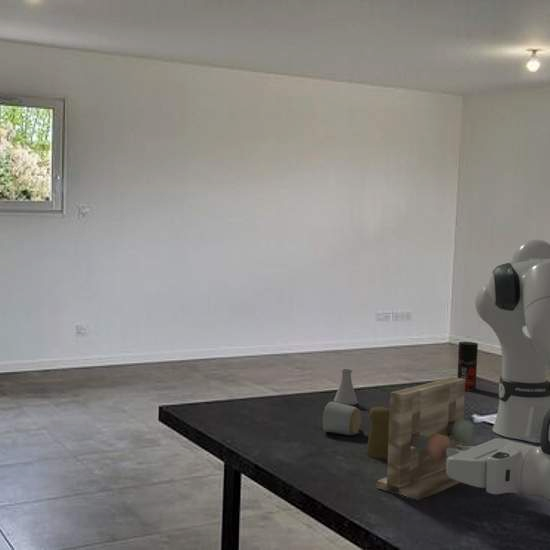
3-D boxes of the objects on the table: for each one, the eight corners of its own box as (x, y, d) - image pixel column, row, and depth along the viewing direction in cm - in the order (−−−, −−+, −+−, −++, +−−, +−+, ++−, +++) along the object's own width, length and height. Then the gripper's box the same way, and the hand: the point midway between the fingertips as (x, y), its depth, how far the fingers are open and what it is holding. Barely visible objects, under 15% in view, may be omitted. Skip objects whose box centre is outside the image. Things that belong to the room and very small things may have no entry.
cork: (364, 450, 188) (366, 404, 187) (390, 451, 188) (392, 405, 187) (366, 458, 182) (368, 410, 181) (393, 458, 182) (395, 411, 181)
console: (479, 474, 172) (484, 382, 171) (418, 500, 155) (422, 399, 153) (439, 463, 179) (443, 375, 178) (376, 487, 162) (379, 390, 160)
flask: (334, 399, 240) (335, 366, 239) (358, 401, 239) (359, 368, 238) (332, 405, 232) (333, 371, 232) (357, 406, 231) (358, 372, 231)
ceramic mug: (351, 439, 197) (353, 408, 196) (321, 434, 200) (322, 404, 200) (366, 430, 206) (367, 400, 206) (337, 425, 210) (338, 396, 210)
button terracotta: (449, 456, 158) (450, 434, 158) (437, 461, 155) (438, 438, 154) (418, 448, 163) (419, 426, 163) (406, 453, 160) (407, 430, 159)
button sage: (472, 440, 170) (473, 419, 170) (461, 444, 167) (462, 423, 166) (443, 433, 175) (444, 413, 175) (432, 437, 172) (433, 416, 171)
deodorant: (475, 387, 262) (477, 342, 261) (475, 391, 256) (477, 345, 255) (457, 386, 263) (459, 341, 262) (456, 390, 257) (458, 344, 256)
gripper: (542, 439, 153) (477, 424, 163) (491, 461, 138) (422, 444, 148) (540, 471, 154) (476, 455, 163) (489, 497, 139) (421, 477, 148)
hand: (450, 450), depth 155 cm, fingers closed
